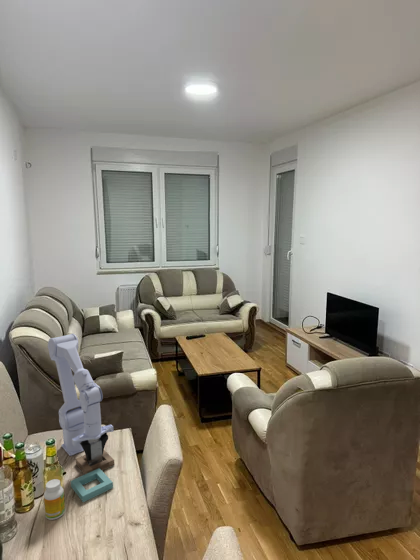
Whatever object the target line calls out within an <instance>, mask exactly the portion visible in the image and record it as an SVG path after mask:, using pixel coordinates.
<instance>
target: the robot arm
mask: <svg viewBox="0 0 420 560" xmlns="http://www.w3.org/2000/svg"><path fill="white" fill-rule="evenodd" d="M47 349H48V354H49V358H50V361H54V363H55V365H56V366H55V367H56V370H57V375H58V379H59V384H60V389H61V392H62V397H63V402H64V403H63V404H62V405H61V406H60V408H59V409H58V421H59V426H60V428H61V429H62V437H63V441H62V442H63V443H62V444H61V447H62V449H63V450H64V451H65V452H66V453H67V455H68V456H70V457H71V456H74V455H76V454H79V453H82V452H84V454H85V455H86V458H87V460H88V461H90V460H91V455H90V448H91V444H90V443H89V441H88V440H90V439H98V438H99V439H100V440H101V441H102V455H103V451H104V450H105V446H106V443H107V441H108V440H109V434H108V433H112V432H114V425H112V424H108V425H103V426H102V414H101V403H100V402H102V401H103V397H104V395H103V391H102V388H101V387H100V385H98V384H97V383H96V382H95V381H94V380H93V378H92V375H91V373H90V371H89V370H88V369H86V368H84V365H83V363H82V360H81V357H80V354H79V352H78V350H79V339H78V337H77V335H76V334H75V333H70V334H66V335H61V336H57V337H50V338H49V339H48V341H47ZM76 388H77V390H78V392H79V395H78V394H77V390H76Z"/></svg>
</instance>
